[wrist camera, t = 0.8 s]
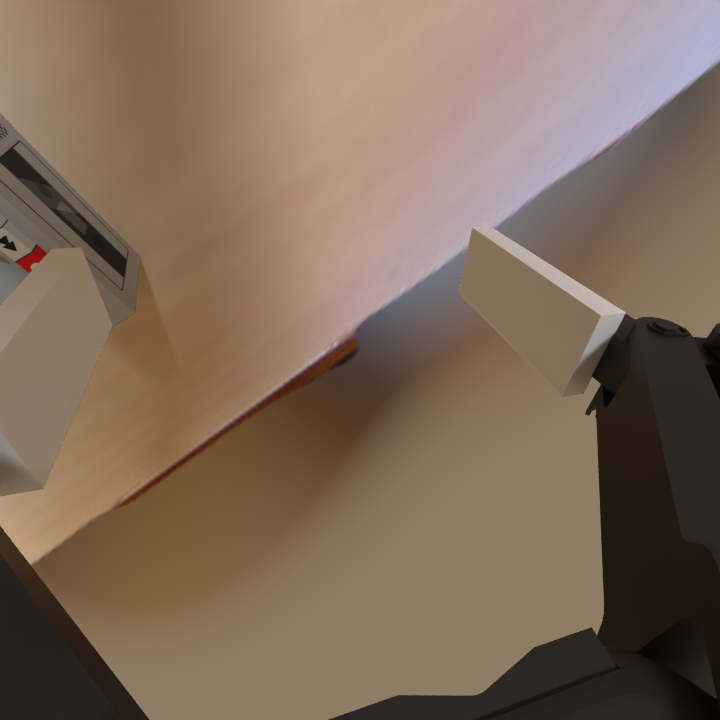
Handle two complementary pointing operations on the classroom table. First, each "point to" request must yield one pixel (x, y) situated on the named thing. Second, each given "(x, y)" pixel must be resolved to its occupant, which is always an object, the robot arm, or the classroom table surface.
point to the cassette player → (59, 224)
